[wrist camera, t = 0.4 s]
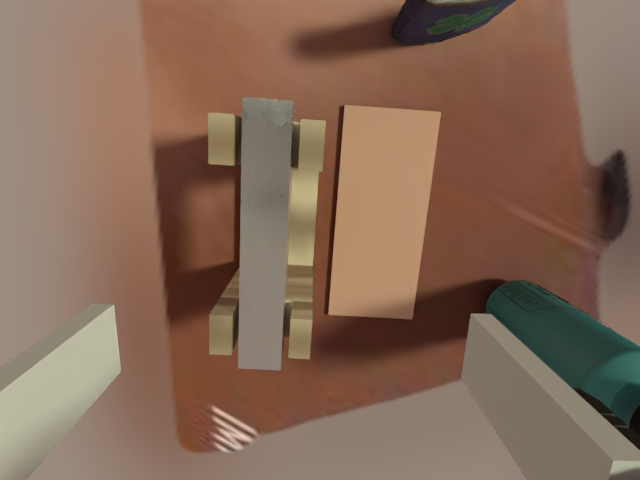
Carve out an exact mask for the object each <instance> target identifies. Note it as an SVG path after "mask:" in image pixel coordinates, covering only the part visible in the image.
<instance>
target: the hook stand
mask: <svg viewBox="0 0 640 480" xmlns="http://www.w3.org/2000/svg"><path fill="white" fill-rule="evenodd" d="M325 125H326V121H320V120H306V119H301V123H298V122H295V130H294V151H293V171H292V192H291V213H290V234H289V255H288V275H287V296H286V317H285V337H289V357H288V358H298V359H310V348H311V334H312V301H313V253H314V238H315V222H316V207H317V191H318V176H319V171H320V172H322V170H323V155H324V140H325ZM241 142H242V118H241V117H238V116H236V115H234V114H223V113H209V112H208V164H215V165H230V166H234V165H239V164H241ZM239 276H240V267H239V268H238V270H237V271H236V273H235V275H234V276H233V278H232V279H231V281H230V283H229V284H228V286H227V287H226V289H225V290H224V292H223V294H222V295H221V297H220V298H219V300H218V301H217V303H216V305H215V306H214V308H213V309H212V311H211V312H210V314H209V354H217V355H231V354H232V352H233V349H234V347H235V344H236V342H237V339H238V337H239Z"/></svg>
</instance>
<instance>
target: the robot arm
mask: <svg viewBox="0 0 640 480" xmlns="http://www.w3.org/2000/svg"><path fill="white" fill-rule="evenodd" d="M120 372H121V367H120V357H119V348H118V338H117V329H116V319H115V310H114V304H91V305H90V306H88V307H87V308H85V309H84V310H83V311H81V312H80V313H78V314H77V315H75V316H74V317H72V318H71V319H70V320H68V321H67V322H65V323H64V324H62V325H61V326H59V327H58V328H57V329H55V330H54V331H52V332H51V333H49V334H48V335H47V336H45V337H44V338H42V339H41V340H39V341H38V342H36V343H35V344H34V345H32V346H31V347H29V348H28V349H26V350H25V351H23V352H22V353H21V354H19V355H18V356H16V357H15V358H13V359H12V360H11V361H9V362H8V363H6V364H5V365H3V366H2V367H0V480H27V479H28V477H29V476H30V475H31V474H32V473H33V472H34V471H35V469H36V468H37V467H38V466H39V465H40V464H41V462H42V461H43V460H44V459H45V458H46V457H47V456H48V454H49V453H50V452H51V451H52V450H53V449H54V448H55V447H56V445H57V444H58V443H59V442H60V441H61V440H62V438H63V437H64V436H65V435H66V434H67V433H68V432H69V430H70V429H71V428H72V427H73V426H74V425H75V424H76V422H77V421H78V420H79V419H80V418H81V417H82V416H83V414H84V413H85V412H86V411H87V410H88V408H89V407H90V406H91V405H92V404H93V403H94V402H95V400H96V399H97V398H98V397H99V396H100V395H101V394H102V393H103V391H104V390H105V389H106V388H107V387H108V386H109V384H110V383H111V382H112V381H113V380H114V379H115V378H116V376H117V375H118V374H119V373H120ZM461 379H462V381H463V382H464V384H465V385H466V387H467V388H468V390H469V391H470V393H471V394H472V396H473V397H474V399H475V401H476V402H477V404H478V405H479V407H480V408H481V410H482V411H483V413H484V414H485V416H486V417H487V419H488V420H489V422H490V423H491V425H492V427H493V428H494V430H495V431H496V433H497V434H498V436H499V437H500V439H501V440H502V442H503V444H504V445H505V447H506V448H507V449H508V451H509V453H510V454H511V456H512V457H513V459H514V460H515V462H516V463H517V465H518V467H519V468H520V470H521V471H522V473H523V474H524V476H525V477H526V479H527V480H640V435H639V434H637V433H636V432H635V431H634V430H633V429H629V426H628V425H627V424H626V423H625V422H624V421H623V420H621V419H620V418H619V417H616V416H615V414H614V413H613V412H612V411H611V410H610V409H609V408H608V407H606V406H605V405H604V404H603V403H602V402H601V401H600V400H598V399H596V398H595V397H593V396H591V395H590V394H588V393H586V392H584V391H583V390H581V389H579V388H571V387H570V386H569V385H568V384H567V383H566V382H565V381H563V380H562V379H561V378H560V377H559V376H558V375H557V374H556V373H555V372H554V371H553V370H551V369H550V368H549V367H548V366H547V365H546V364H545V363H544V362H543V361H542V360H541V359H539V358H538V357H537V356H536V355H535V354H534V353H533V352H532V351H531V350H530V349H529V348H527V347H526V346H525V345H524V344H523V343H522V342H521V341H520V340H519V339H518V338H517V337H516V336H514V335H513V334H512V333H511V332H510V331H509V330H508V329H507V328H506V327H505V326H504V325H502V324H501V323H500V322H499V321H498V320H497V319H496V318H495V317H494V316H493V315H492V314H472V313H471V315H470V322H469V329H468V335H467V342H466V349H465V356H464V363H463V370H462V377H461Z"/></svg>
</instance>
